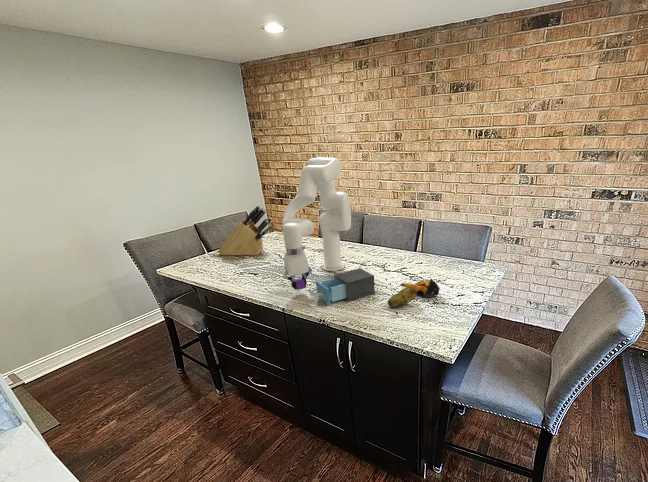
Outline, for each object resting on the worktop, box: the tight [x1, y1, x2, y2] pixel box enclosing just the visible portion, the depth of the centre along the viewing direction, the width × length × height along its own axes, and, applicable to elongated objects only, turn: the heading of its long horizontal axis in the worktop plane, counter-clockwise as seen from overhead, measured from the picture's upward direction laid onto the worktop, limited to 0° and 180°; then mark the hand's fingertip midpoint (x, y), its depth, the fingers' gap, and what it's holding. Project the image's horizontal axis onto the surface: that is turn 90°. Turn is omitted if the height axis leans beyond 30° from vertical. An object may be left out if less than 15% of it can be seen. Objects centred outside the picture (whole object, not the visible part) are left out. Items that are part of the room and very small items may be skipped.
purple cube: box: [295, 277, 306, 291], centre depth 158 cm, size 4×4×4 cm
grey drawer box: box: [333, 267, 376, 302], centre depth 159 cm, size 15×13×9 cm
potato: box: [387, 287, 417, 308], centre depth 146 cm, size 8×13×8 cm, turn 93°
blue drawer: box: [308, 277, 347, 305], centre depth 153 cm, size 18×11×7 cm, turn 125°
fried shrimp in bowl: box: [399, 278, 441, 298], centre depth 156 cm, size 9×11×18 cm
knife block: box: [217, 204, 273, 256], centre depth 216 cm, size 11×35×31 cm, turn 89°
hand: (299, 287), depth 159 cm, fingers closed on purple cube, 4 cm apart
